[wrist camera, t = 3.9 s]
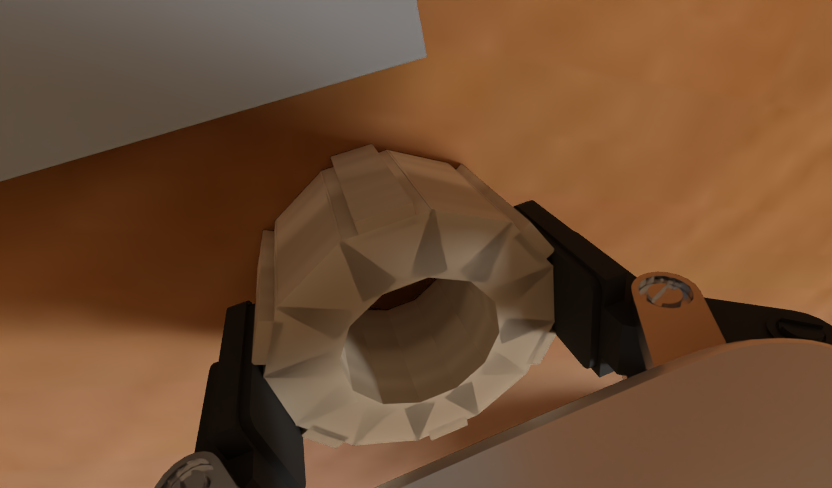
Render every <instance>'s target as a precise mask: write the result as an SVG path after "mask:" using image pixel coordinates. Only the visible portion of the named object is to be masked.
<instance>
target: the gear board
mask: <svg viewBox="0 0 832 488" xmlns="http://www.w3.org/2000/svg"><path fill="white" fill-rule="evenodd" d="M425 57H427V55H426V49H425V44H424V39H423V33H422V28H421V22H420V17H419V11H418V6H417V0H0V181H4V180H7V179H11V178H14V177H17V176H21V175H24V174H28V173H31V172H35V171H38V170H41V169H45V168H48V167H52V166H55V165H59V164H62V163H65V162H69V161H72V160H76V159H79V158H82V157H86V156H89V155H93V154H96V153H100V152H103V151H106V150H110V149H113V148H117V147H120V146H124V145H127V144H130V143H134V142H137V141H141V140H144V139H148V138H151V137H154V136H158V135H161V134H165V133H168V132H171V131H175V130H178V129H182V128H185V127H189V126H192V125H195V124H199V123H202V122H206V121H209V120H213V119H216V118H219V117H223V116H226V115H230V114H233V113H236V112H240V111H243V110H247V109H250V108H254V107H257V106H260V105H264V104H267V103H271V102H274V101H278V100H281V99H284V98H288V97H291V96H295V95H298V94H301V93H305V92H308V91H312V90H315V89H319V88H322V87H325V86H329V85H332V84H336V83H339V82H343V81H346V80H349V79H353V78H356V77H360V76H363V75H366V74H370V73H373V72H377V71H380V70H384V69H387V68H390V67H394V66H397V65H401V64H404V63H408V62H411V61H414V60H418V59H421V58H425Z"/></svg>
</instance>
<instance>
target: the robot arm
mask: <svg viewBox="0 0 832 488" xmlns="http://www.w3.org/2000/svg"><path fill="white" fill-rule="evenodd" d="M513 208H515V209H516V210H517V211H518V212H519V213H521V214H522V215H523V216H524V217H525V218H526V219H528V220H529V221H530V222H531V223H532V224H533V225H534V226H535V228H536V229H537V230H538V231H539V232H540V233H541V234H542V236H543V237H544V238H545V239H546V240H547V241H548V242H549V244H550V245H551V246H552V247H553V248H554V252H553V253H552V254H551V255H550V256H549V257H548V258H547V260H548V261H549V262H550V263H551V264H552V265H553V267H554V268H553V283H554V320H555V323H554V324H553V325H552V329H553V330H554V331H555V332H556V335H557V336H558V337H559V339H560V340H561V341H562V342H563V343H564V344H565V346H566V347H567V348H568V349H569V350H570V351H571V353H572V354H573V355H574V356H575V357H576V359H577V360H578V361H579V362H580V363H581V364H582V365H583V366H584V367H585V368H587V369H588V368H592V370H593V371H594V372H595V373H596V374H597V375H598V376H599V377H602V376H604V375H606V374H609V373H611V372H613V371H615V372H616V373H617V374H619V375H622V378H623V380H622V381H620V382H617V383H615V384H613V385H610V386H608V387H606V388H603V389H601V390H599V391H596V392H594V393H592V394H589V395H587V396H585V397H582V398H580V399H578V400H575V401H573V402H571V403H568V404H566V405H564V406H561V407H559V408H557V409H554V410H552V411H550V412H547V413H545V414H543V415H540V416H538V417H535V418H533V419H531V420H529V421H526V422H524V423H522V424H519V425H517V426H515V427H512V428H510V429H508V430H505V431H503V432H501V433H499V434H496V435H494V436H492V437H489V438H487V439H485V440H482V441H480V442H478V443H475V444H473V445H471V446H469V447H466V448H464V449H462V450H459V451H457V452H455V453H452V454H450V455H448V456H446V457H443V458H441V459H439V460H436V461H434V462H432V463H429V464H427V465H425V466H423V467H420V468H418V469H416V470H413V471H411V472H409V473H407V474H404V475H402V476H400V477H398V478H395V479H393V480H391V481H388V482H386V483H384V484H382V485H379V486H377V487H375V488H832V326H831V325H830V324H828V323H826V322H825V321H823V320H821V319H819V318H817V317H814V316H811V315H809V314H806V313H802V312H797V311H792V310H785V309H779V308H772V307H765V306H758V305H751V304H744V303H737V302H731V301H724V300H717V299H710V298H704V297H703V295H702V293H701V291H700V290H699V288H698V287H697V286H696V284H694V283H693V282H691V281H690V280H689V279H687V278H684V277H682V276H680V275H677V274H672V273H668V272H651V273H646V274H643V275H640V276H639V277H638V278H637V277H635V276H634V275H633V274H632V273H630V272H629V271H628V270H626V269H625V268H624V267H622V266H621V265H620V264H618V263H617V262H616V261H614V260H613V259H612V258H610V257H609V256H608V255H606V254H605V253H604V252H602V251H601V250H600V249H598V248H597V247H596V246H594V245H593V244H592V243H590V242H589V241H588V240H586V239H585V238H584V237H583V236H581V235H580V234H579V233H577V232H575V231H573V230H572V229H570V228H569V227H568V226H566V225H565V224H564V223H562V222H561V221H560V220H558V219H557V218H556V217H554V216H553V215H552V214H550V213H549V212H548V211H547V210H545V209H544V208H543V207H541V206H540V205H539V204H537V203H536V202H535V201H533V200H530V201H527V202H525V203H522V204H519V205H516V206H514V207H513ZM254 318H255V304H252V303H251V302H250V301H246V302H243V303H240V304H237V305H234V306H231V307H229V308H227V312H226V318H225V324H224V331H223V337H222V343H221V350H220V356H219V362H216V363H213V364H212V365H211V367H210V370H209V375H208V381H207V386H206V392H205V397H204V403H203V408H202V414H201V419H200V425H199V431H198V436H197V442H196V447H195V453H193V454H191V455H188V456H186V457H184V458H183V459H181V460H180V461H178V462H177V463H175V464H174V465H173V466H172V467H171V468H170V469H169V470H168V471H167V472H166V473H165V474H164V475H163V476H162V478H161V479H160V480H159V482H158V483H157V484H156V486H155V488H305V486H306V479H305V463H304V447H303V437H302V431H301V427H300V426H297V425H295V422H294V421H293V419H292V418H291V416H290V415H289V414H288V412H287V411H286V409H285V408H284V406H283V405H282V403H281V402H280V400H279V399H278V397H277V396H276V394H275V393H274V391H273V390H272V388H271V387H270V385H269V384H268V382H267V381H266V379H265V378H264V376H263V368H264V365H254V364H253V363H252V348H253V333H254Z"/></svg>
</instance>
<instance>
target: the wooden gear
mask: <svg viewBox="0 0 832 488" xmlns="http://www.w3.org/2000/svg"><path fill="white" fill-rule="evenodd" d="M330 158H331V160H332V163H333V166H334V167H332V168H329V169H326V170H323V171H320V173H319V174H318V175H317V176H316V177H315V178H314V179H313V180H312V181H311V183H310V184H309V185H308V186H307V187H306V188H305V189H304V190H303V191H302V192H301V193H300V194H299V196H298V197H297V198H296V199H295V200H294V201H293V202H292V203H291V204H290V205H289V206H288V207H287V209H286V210H285V211H284V212H283V213H282V214H281V215H280V216H279V217H278V218H277V219H276V220H275V229H274V231H267V230H263V233H262V240H261V247H260V254H259V261H258V271H257V286H256V301H255V318H254V333H253V348H252V363H253V364H254V365H264V368H263V376H264V378H265V379H266V381H267V382H268V384H269V385H270V387H271V388H272V390H273V391H274V393H275V394H276V396H277V397H278V399H279V400H280V402H281V403H282V405H283V406H284V408H285V409H286V411H287V412H288V414H289V415H290V416H291V418H292V419H293V421H294V422H295V425H297V426H300V427H301V431H302V437H303V438H305V439H308V440H311V441H314V442H317V443H320V444H323V445H326V446H329V447H332V448H335V449H336V448H338V447H339V446H340V445H341V444H342V443H343V442H345V443H348V444H351V445H352V446H355V445H366V444H378V443H391V442H403V441H415V440H416V441H417V440H420V439H422V438H424V437H427V436H430V439H431V441H432V440H434V439H437V438H439V437H441V436H444V435H446V434H448V433H451V432H453V431H455V430H458V429H460V428H462V427H465V426H467V425H468V423H467V419H469V418H471V417H474V416H476V415H478V414H479V413H481V412H482V411H483V410H484V409H485V408H486V407H488V406H489V405H490V404H491V403H492V402H493V401H495V400H496V399H497V398H498V397H499V396H501V395H502V394H503V393H504V392H505V391H506V390H508V389H509V388H510V387H511V386H512V385H513V384H515V383H516V382H517V381H518V380H519V379H520V378H522V377H523V376H524V375H526V373H527V371H528V369H529V368H530V366H531V364H540V363H541V361H542V359H543V357H544V355H545V354H546V352H547V350H548V348H549V346H550V345H551V343H552V341H553V339H554V338H555V336H556V332H555V331H554V330H553V329H552V325H553V324H554V323H555V320H554V283H553V268H554V267H553V265H552V264H551V263H550V262H549V261H548V260H547V258H548V257H549V256H550V255H551V254H552V253H553V252H554V248H553V247H552V246H551V245H550V244H549V242H548V241H547V240H546V239H545V238H544V237H543V236H542V234H541V233H540V232H539V231H538V230H537V229H536V228H535V226H534V225H533V224H532V223H531V222H530V221H529V220H528V219H526V218H525V217H524V216H523V215H522V214H521V213H519V212H518V211H517V210H516V209H515V208H513V207H512V206H511V205H510V204H509V203H508V202H506V201H505V200H504V199H503V198H502V197H501V196H499V195H498V194H497V193H496V192H495V191H493V190H492V189H491V188H490V187H489V186H488V185H486V184H485V183H484V182H483V181H482V180H481V179H479V178H478V177H477V176H476V175H475V174H473V173H472V172H471V171H470V170H469V169H468V168H466V167H465V166H464V165H463V164H461V165H460V166H459V167H458V168H457V169H456V170H455V169H454V168H453V167H452V166H451V165H450V164H449V163H445V162H440V161H436V160H431V159H426V158H422V157H417V156H413V155H408V154H404V153H399V152H395V151H390V150H385V151H382V152H379V153H378V152H377V150H376V149H375V147H374V146H373V144H370V145H366V146H363V147H360V148H357V149H354V150H351V151H347V152H344V153H341V154H338V155H335V156H332V157H330ZM428 277H429V278H437V279H436V280H435V281H434V282H433V283H432V284H431V285H430V286H429V287H428V288H427V289H426V290H425V291H424V292H423V293H422V294H421V295H420V296H419V297H418V298H416V299H415V300H414V301H411V302H408V303H406V304H403V305H400V306H398V307H395V308H392V309H390V310H387V311H385V310H367V309H368V308H369V307H370V306H371V305H372V304H373V303H374V302H375V301H376V300H377V299H378V298H379V297H380V296H381V295H382V294H385V293H388V292H390V291H393V290H396V289H399V288H401V287H404V286H407V285H409V284H412V283H415V282H417V281H420V280H423V279H426V278H428Z"/></svg>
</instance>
